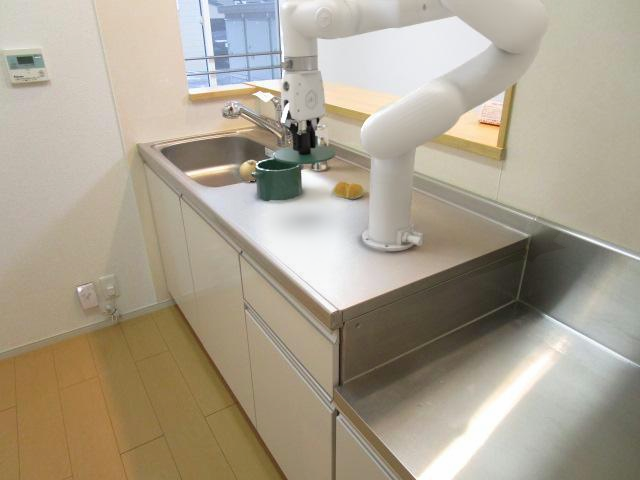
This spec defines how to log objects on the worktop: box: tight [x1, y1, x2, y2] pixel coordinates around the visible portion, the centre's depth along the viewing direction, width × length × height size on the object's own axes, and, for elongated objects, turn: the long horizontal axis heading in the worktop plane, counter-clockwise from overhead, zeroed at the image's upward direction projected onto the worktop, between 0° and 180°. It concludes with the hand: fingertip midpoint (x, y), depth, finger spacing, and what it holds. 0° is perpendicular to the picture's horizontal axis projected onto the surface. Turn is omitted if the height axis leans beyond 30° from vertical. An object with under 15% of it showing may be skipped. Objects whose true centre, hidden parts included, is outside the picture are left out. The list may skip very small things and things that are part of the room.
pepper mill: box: [310, 124, 330, 172], centre depth 158 cm, size 7×7×15 cm
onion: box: [238, 159, 259, 182], centre depth 150 cm, size 8×8×7 cm
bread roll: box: [332, 181, 364, 200], centre depth 135 cm, size 8×9×4 cm
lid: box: [273, 130, 337, 165], centre depth 105 cm, size 15×15×6 cm
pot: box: [251, 157, 303, 202], centre depth 136 cm, size 14×19×10 cm
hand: (304, 148), depth 105 cm, fingers closed on lid, 3 cm apart
